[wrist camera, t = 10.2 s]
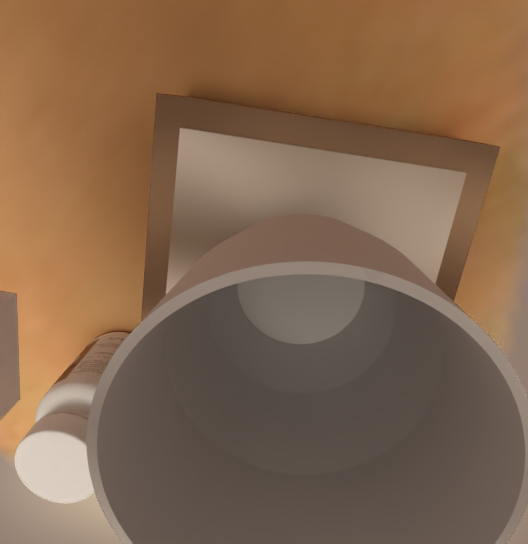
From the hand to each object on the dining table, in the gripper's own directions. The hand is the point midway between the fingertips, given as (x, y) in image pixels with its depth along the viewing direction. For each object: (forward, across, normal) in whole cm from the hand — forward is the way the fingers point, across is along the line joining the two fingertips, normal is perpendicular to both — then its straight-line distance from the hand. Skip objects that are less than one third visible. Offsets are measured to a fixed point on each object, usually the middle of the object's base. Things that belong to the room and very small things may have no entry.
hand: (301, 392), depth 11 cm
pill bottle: (+13, -8, -8) cm, 17 cm away
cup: (+8, 0, 0) cm, 8 cm away
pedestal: (+13, 0, 0) cm, 13 cm away
